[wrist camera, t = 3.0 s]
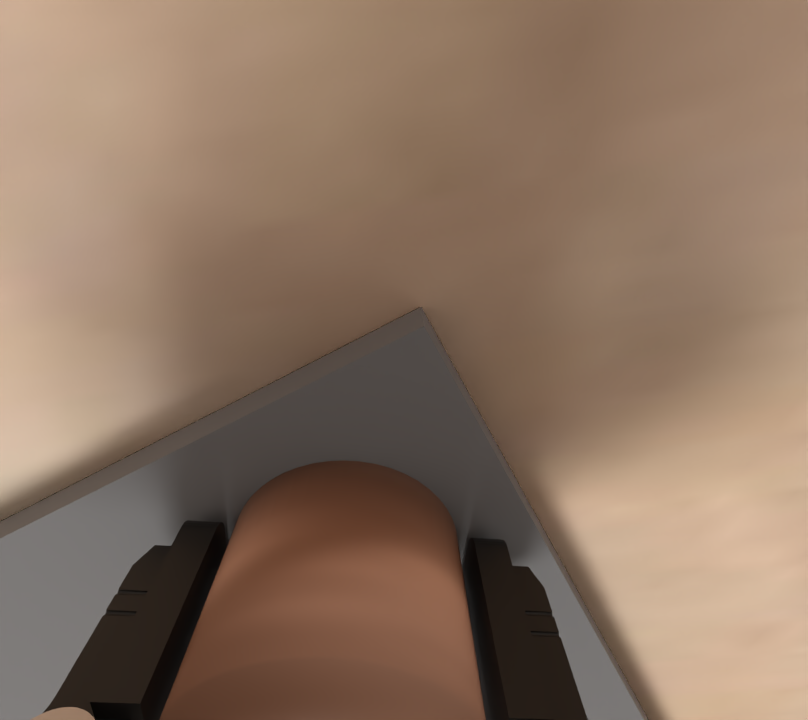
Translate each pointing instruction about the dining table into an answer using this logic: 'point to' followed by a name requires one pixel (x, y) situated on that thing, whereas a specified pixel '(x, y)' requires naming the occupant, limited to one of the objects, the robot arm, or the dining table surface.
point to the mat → (251, 469)
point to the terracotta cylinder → (335, 607)
